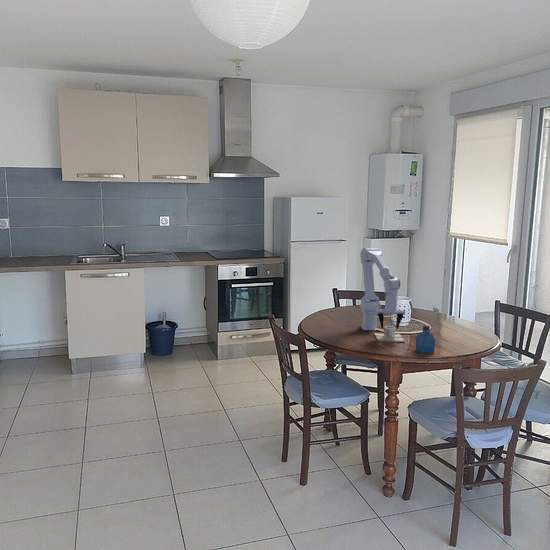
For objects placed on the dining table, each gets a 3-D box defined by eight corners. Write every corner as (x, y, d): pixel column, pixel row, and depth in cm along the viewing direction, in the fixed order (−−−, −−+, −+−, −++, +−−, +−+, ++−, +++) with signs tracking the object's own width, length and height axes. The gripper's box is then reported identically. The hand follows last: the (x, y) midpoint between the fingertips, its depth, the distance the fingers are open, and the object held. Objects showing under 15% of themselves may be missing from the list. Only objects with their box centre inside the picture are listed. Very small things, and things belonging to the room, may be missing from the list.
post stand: (374, 334, 277) (374, 323, 276) (399, 335, 277) (399, 324, 276) (378, 342, 264) (379, 330, 263) (404, 342, 264) (405, 330, 263)
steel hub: (382, 335, 273) (383, 325, 272) (393, 335, 273) (394, 326, 272) (384, 338, 268) (385, 328, 267) (395, 338, 268) (396, 328, 267)
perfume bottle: (422, 353, 247) (424, 328, 245) (415, 349, 253) (417, 325, 251) (434, 352, 249) (435, 327, 247) (426, 348, 255) (428, 324, 253)
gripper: (378, 303, 264) (376, 329, 266) (407, 304, 263) (405, 330, 266) (375, 300, 271) (374, 326, 273) (404, 300, 270) (402, 326, 273)
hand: (389, 328), depth 270 cm, fingers open, 7 cm apart
